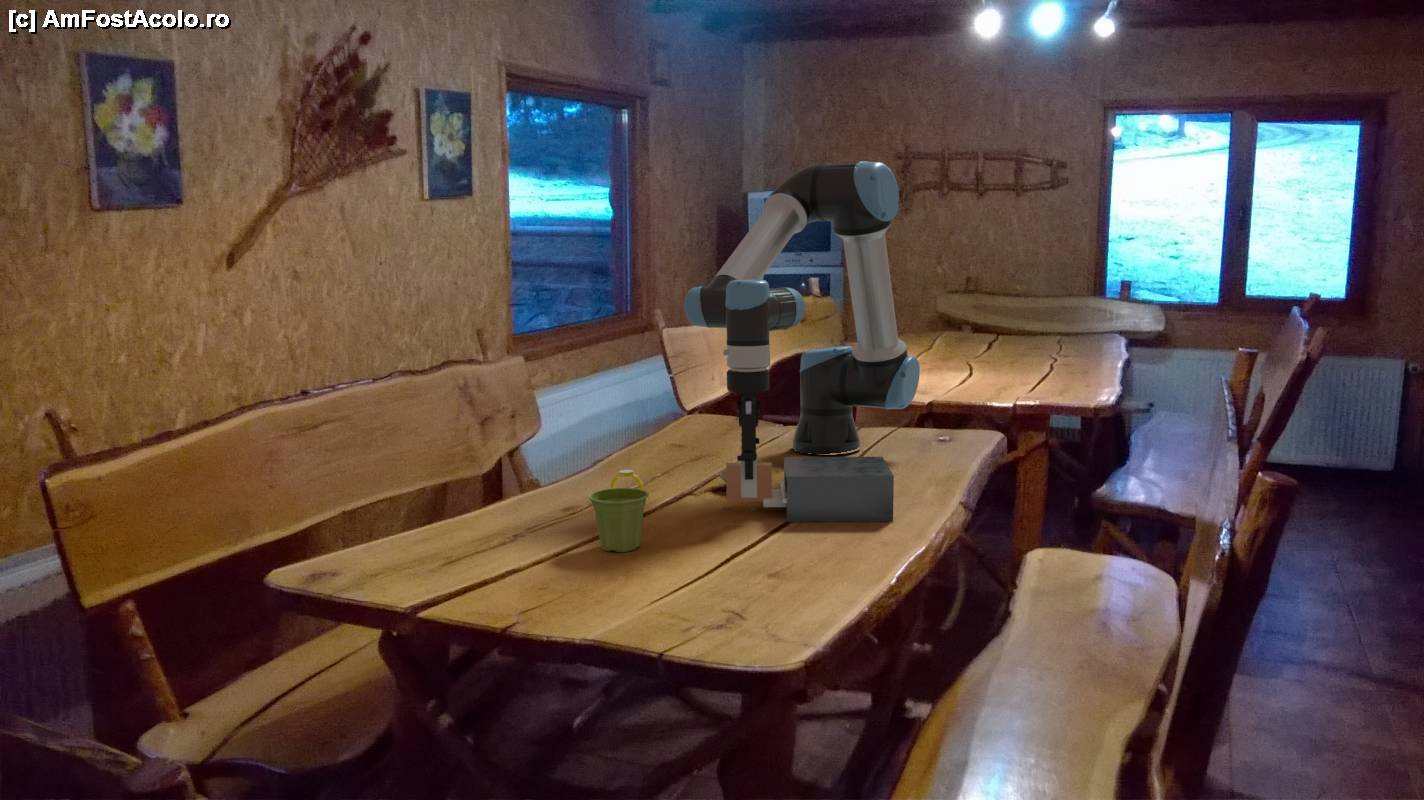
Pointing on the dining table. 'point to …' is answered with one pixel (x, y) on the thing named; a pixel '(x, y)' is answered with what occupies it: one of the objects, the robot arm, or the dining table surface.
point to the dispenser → (837, 489)
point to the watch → (628, 473)
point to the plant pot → (619, 517)
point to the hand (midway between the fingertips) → (749, 488)
